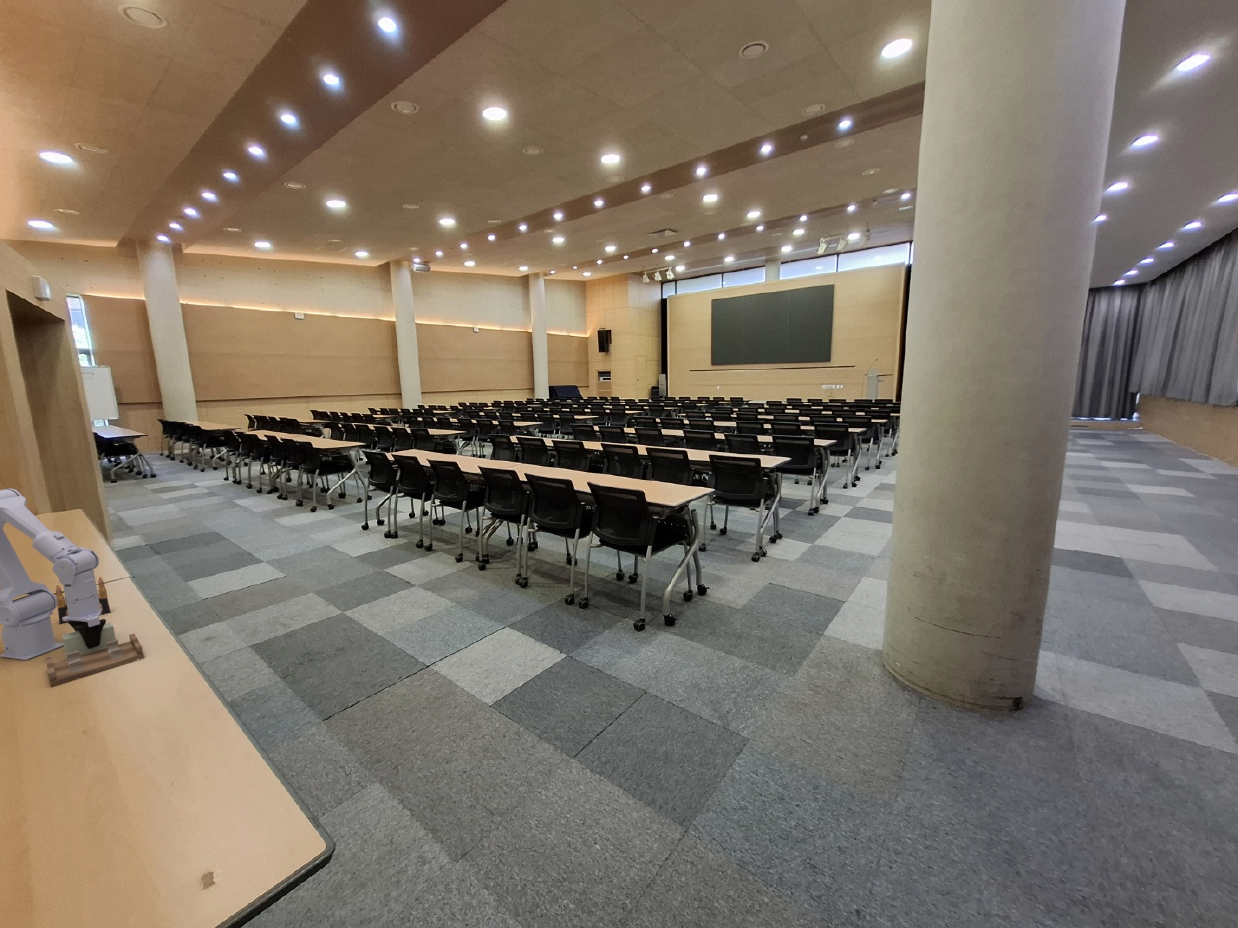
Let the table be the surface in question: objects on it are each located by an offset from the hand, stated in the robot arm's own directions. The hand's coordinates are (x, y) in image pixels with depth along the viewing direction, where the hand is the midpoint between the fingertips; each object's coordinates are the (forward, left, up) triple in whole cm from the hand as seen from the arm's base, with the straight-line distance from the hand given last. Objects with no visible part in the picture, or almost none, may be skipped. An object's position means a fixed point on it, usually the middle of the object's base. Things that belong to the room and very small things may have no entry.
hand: (90, 644), depth 131 cm
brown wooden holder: (+9, -5, -2) cm, 10 cm away
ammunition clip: (-27, +15, -2) cm, 31 cm away
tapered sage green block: (0, 0, -2) cm, 2 cm away
